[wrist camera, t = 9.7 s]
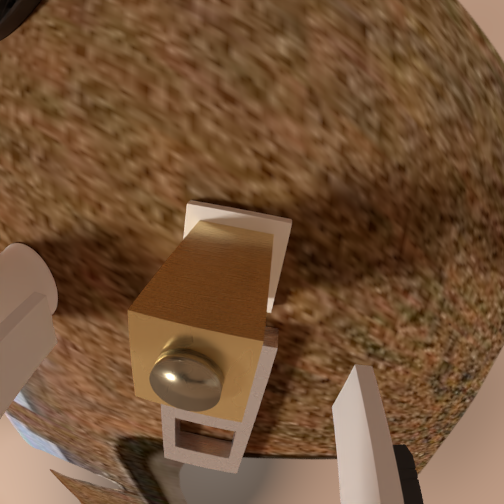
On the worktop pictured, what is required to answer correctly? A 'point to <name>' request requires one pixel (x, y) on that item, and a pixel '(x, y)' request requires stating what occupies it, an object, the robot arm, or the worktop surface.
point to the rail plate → (219, 423)
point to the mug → (24, 278)
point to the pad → (250, 222)
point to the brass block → (203, 322)
